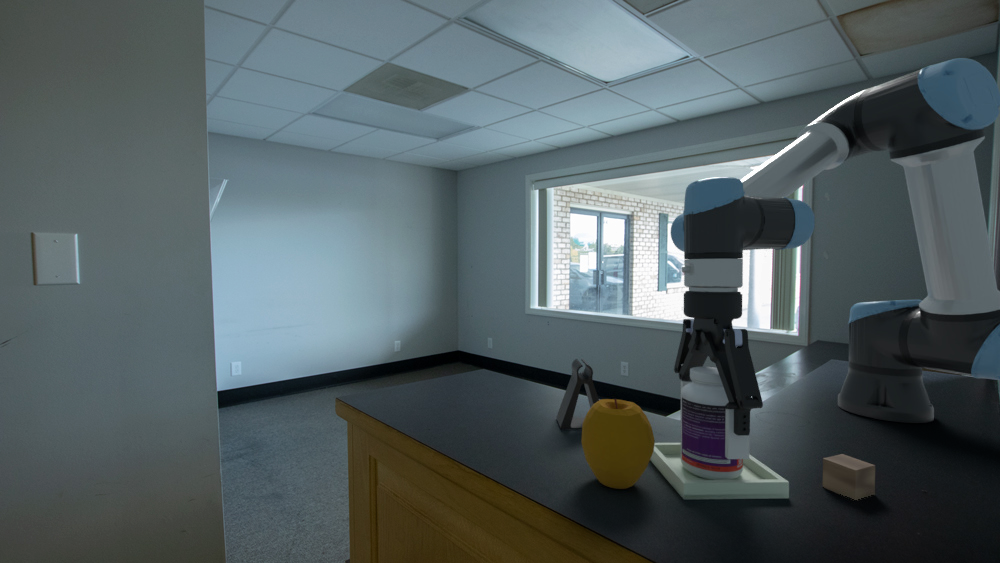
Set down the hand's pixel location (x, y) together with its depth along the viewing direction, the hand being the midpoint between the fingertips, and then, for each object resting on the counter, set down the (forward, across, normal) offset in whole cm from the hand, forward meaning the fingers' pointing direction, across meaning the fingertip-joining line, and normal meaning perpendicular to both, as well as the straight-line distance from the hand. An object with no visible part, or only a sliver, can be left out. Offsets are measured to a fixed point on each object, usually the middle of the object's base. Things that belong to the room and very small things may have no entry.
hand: (711, 438), depth 65 cm
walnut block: (+5, +5, +16) cm, 18 cm away
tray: (+5, 0, 0) cm, 5 cm away
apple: (+5, +2, -14) cm, 15 cm away
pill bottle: (+5, 0, 0) cm, 5 cm away
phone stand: (+6, -22, -14) cm, 27 cm away
